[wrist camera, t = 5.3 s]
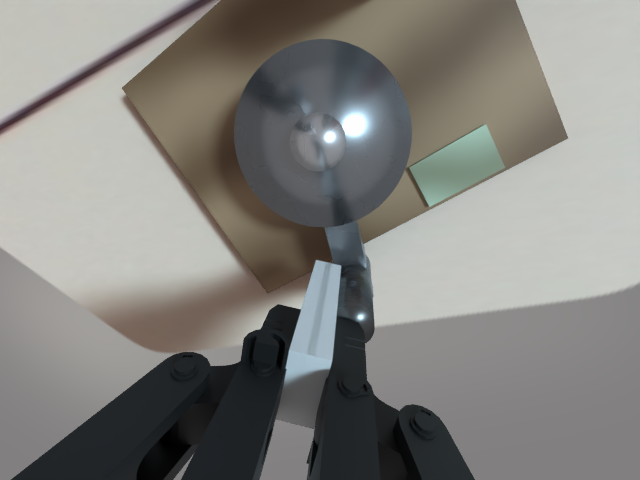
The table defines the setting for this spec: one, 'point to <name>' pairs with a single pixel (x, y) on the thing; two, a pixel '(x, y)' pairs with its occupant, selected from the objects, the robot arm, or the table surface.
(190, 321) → the table surface
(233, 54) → the board
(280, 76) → the silver round handled piece
